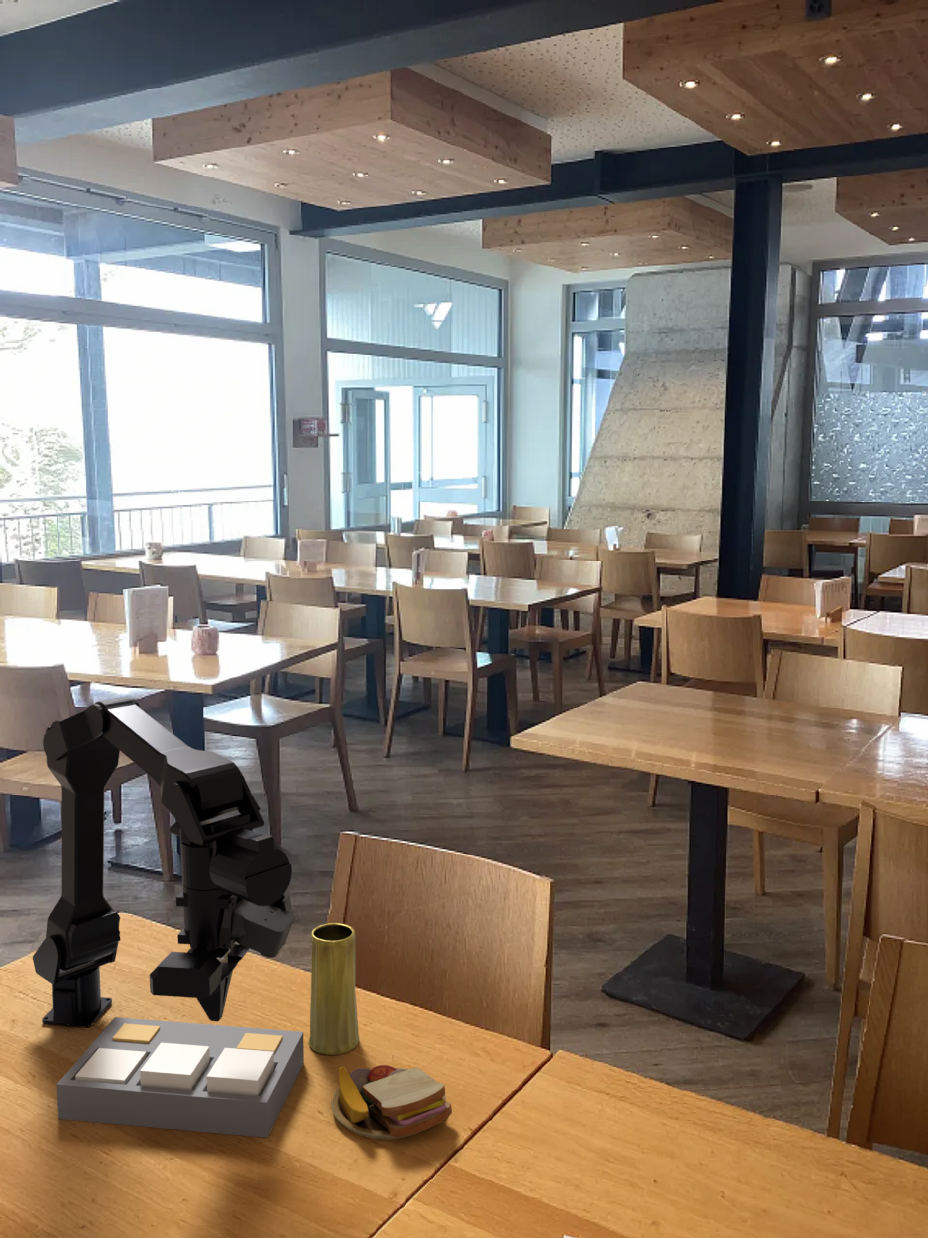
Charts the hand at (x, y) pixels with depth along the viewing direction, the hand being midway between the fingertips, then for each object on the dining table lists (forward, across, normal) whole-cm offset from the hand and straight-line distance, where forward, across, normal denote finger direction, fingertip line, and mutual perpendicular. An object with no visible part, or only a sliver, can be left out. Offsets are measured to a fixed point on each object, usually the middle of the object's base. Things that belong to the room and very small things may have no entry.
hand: (216, 1019), depth 114 cm
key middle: (+8, +1, +5) cm, 9 cm away
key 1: (+9, 0, +13) cm, 15 cm away
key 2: (+8, +1, -2) cm, 8 cm away
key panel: (+11, +3, +5) cm, 12 cm away
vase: (+11, +16, -9) cm, 21 cm away
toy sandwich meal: (+12, +4, -19) cm, 22 cm away
